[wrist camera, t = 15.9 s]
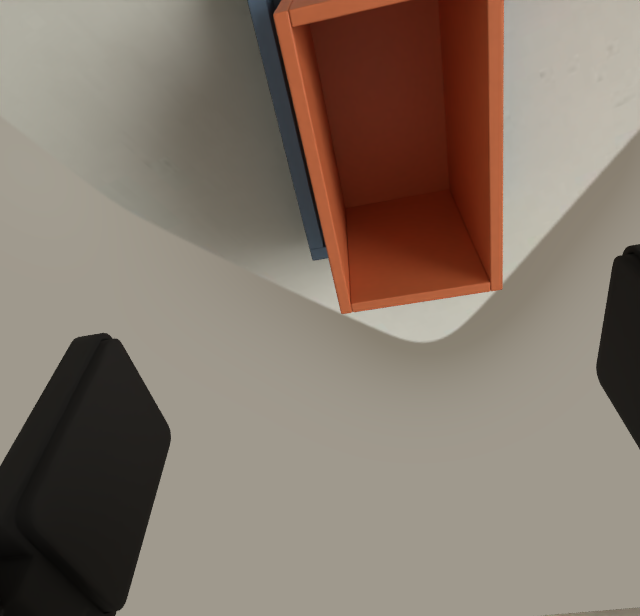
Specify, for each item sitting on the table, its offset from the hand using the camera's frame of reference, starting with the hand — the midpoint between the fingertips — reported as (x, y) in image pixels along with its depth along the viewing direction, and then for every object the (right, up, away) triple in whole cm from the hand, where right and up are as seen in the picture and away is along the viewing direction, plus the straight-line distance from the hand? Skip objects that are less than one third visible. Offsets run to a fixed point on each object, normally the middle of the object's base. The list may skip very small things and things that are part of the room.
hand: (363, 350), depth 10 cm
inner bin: (+3, +12, +17) cm, 21 cm away
